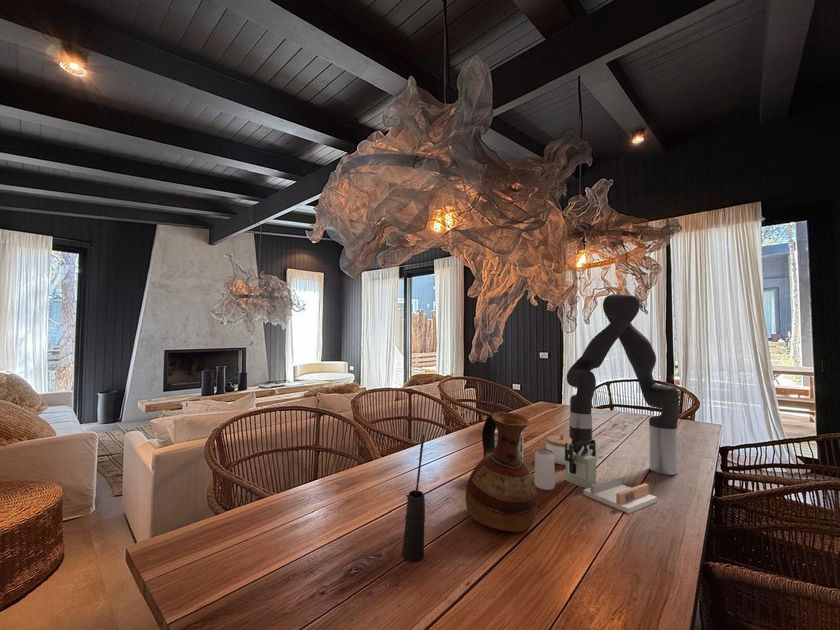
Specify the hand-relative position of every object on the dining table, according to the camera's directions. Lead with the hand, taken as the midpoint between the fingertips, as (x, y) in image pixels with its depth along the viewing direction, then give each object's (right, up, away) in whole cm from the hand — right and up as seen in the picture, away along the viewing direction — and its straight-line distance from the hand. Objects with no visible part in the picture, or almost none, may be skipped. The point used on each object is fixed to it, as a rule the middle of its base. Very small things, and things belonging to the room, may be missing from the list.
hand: (580, 471), depth 135 cm
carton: (0, -4, 0) cm, 4 cm away
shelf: (+8, -4, -12) cm, 15 cm away
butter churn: (-59, -1, -47) cm, 76 cm away
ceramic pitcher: (-34, -2, -28) cm, 45 cm away
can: (-14, -4, -4) cm, 15 cm away
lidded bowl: (+2, -5, +22) cm, 23 cm away
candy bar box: (-25, -4, +3) cm, 26 cm away
